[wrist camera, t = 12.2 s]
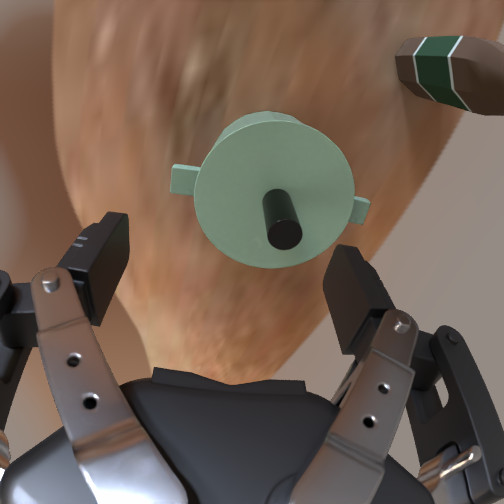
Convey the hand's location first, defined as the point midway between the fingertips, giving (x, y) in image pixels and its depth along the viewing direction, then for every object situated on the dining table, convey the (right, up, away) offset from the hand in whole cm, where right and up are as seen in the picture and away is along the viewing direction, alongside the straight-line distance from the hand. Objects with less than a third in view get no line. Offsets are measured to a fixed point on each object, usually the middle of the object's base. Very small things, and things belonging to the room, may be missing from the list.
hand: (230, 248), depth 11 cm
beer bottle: (+20, +22, +15) cm, 33 cm away
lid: (+3, +4, +14) cm, 15 cm away
